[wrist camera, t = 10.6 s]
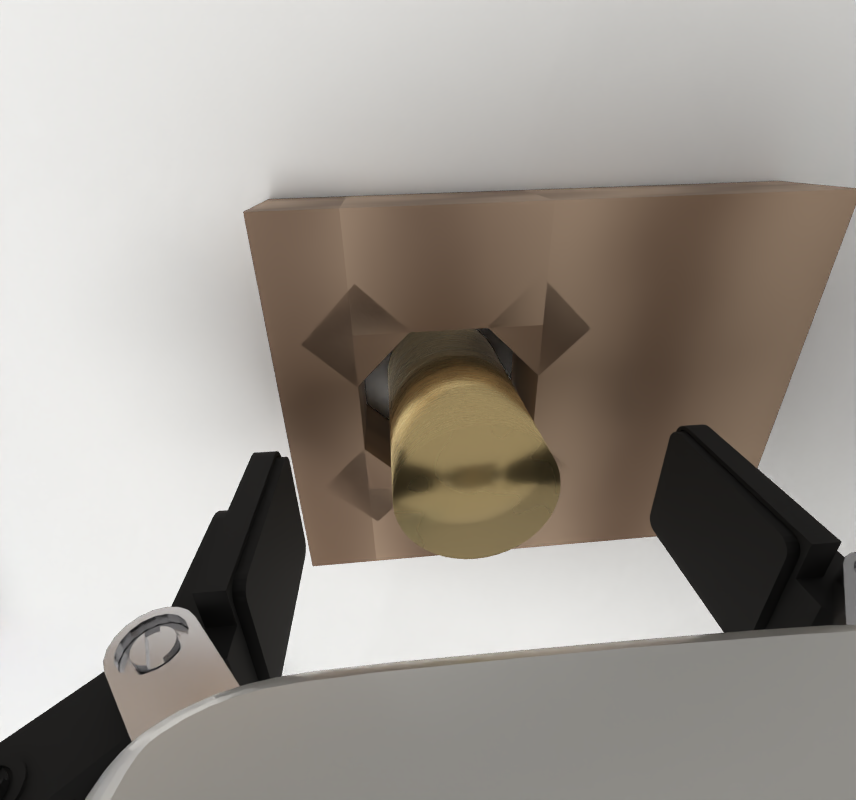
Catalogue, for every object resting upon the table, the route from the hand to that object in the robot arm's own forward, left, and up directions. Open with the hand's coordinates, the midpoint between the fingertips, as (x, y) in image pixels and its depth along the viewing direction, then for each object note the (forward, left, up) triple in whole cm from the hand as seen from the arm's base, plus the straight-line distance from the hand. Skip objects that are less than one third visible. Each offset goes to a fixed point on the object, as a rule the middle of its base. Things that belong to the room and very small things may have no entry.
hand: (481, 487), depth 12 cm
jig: (-3, 0, -7) cm, 7 cm away
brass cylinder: (0, 0, -7) cm, 7 cm away
